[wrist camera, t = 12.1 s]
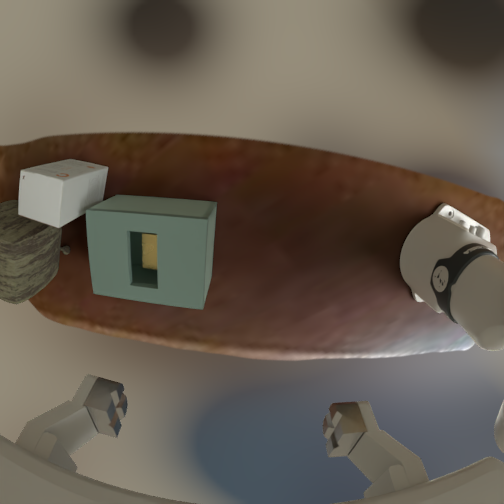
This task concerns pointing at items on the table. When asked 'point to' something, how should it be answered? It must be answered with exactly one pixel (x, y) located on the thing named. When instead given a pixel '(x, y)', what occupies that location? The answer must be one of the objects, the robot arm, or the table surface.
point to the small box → (60, 191)
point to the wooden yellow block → (149, 250)
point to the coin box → (168, 249)
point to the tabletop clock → (26, 254)
